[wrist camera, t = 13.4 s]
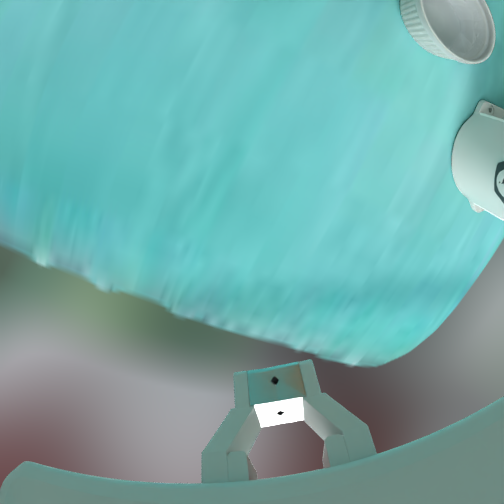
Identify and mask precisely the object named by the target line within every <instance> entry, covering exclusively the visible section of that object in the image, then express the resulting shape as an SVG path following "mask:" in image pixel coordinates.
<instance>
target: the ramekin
mask: <svg viewBox="0 0 504 504" xmlns="http://www.w3.org/2000/svg"><path fill="white" fill-rule="evenodd" d="M400 11H401V16H402V19H403V22H404V24H405V26H406V28H407V30H408V32H409V33H410V35H411V36H412V38H413V39H414V40H415V41H416V42H417V43H418V44H419V45H420V46H421V47H422V48H423V49H425V50H426V51H428V52H429V53H432V54H433V55H436V56H439V57H442V58H447V59H452V60H456V61H458V62H461V63H466V64H478V63H481V62H483V61H485V60H486V59H488V58H489V56H490V55H491V53H492V51H493V49H494V45H495V26H494V21H493V17H492V14H491V12H490V9H489V7H488V5H487V3H486V1H485V0H400Z"/></svg>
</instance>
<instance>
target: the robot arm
mask: <svg viewBox="0 0 504 504" xmlns="http://www.w3.org/2000/svg"><path fill="white" fill-rule="evenodd" d="M452 173H453V177H454V181H455V183H456V186H457V187H458V189H459V191H460V192H461V193H462V194H463V195H464V196H466V197H467V198H468V200H469V203H470V205H471V208H472V209H473V210H474V211H476V212H481V211H483V210H486V211H487V212H489V213H491V214H493V215H494V216H496V217H498V218H499V219H501V220H503V221H504V109H502V108H500V107H498V106H496V105H494V104H492V103H489V102H487V101H485V100H481V101H479V103H478V105H477V107H476V109H475V111H474V114H473V115H472V116H471V117H470V118H469V119H468V120H467V121H466V122H465V123H464V124H463V126H462V127H461V129H460V130H459V132H458V134H457V137H456V139H455V142H454V146H453V152H452ZM234 397H235V408H234V409H231V410H230V412H229V413H228V415H227V416H226V418H225V420H224V421H223V422H222V424H221V426H220V427H219V428H218V430H217V432H216V433H215V434H214V436H213V437H212V439H211V440H210V442H209V443H208V445H207V446H206V448H205V449H204V450H203V452H202V483H197V484H196V483H195V484H183V483H182V484H181V483H178V484H177V483H153V482H140V481H128V480H119V479H112V478H104V477H98V476H92V475H86V474H81V473H75V472H70V471H66V470H61V469H57V468H53V467H49V466H45V465H41V464H38V463H34V462H30V461H25V462H23V463H22V464H20V465H19V466H18V467H17V468H15V469H14V470H13V471H12V472H11V473H10V474H9V475H8V476H7V477H6V479H5V480H4V482H3V484H2V487H1V489H0V504H504V396H503V397H502V398H500V399H498V400H497V401H495V402H493V403H492V404H490V405H488V406H486V407H485V408H483V409H481V410H479V411H477V412H476V413H474V414H472V415H470V416H468V417H466V418H464V419H462V420H460V421H458V422H456V423H454V424H452V425H450V426H448V427H445V428H443V429H441V430H439V431H437V432H434V433H432V434H430V435H427V436H425V437H423V438H420V439H418V440H415V441H413V442H410V443H407V444H405V445H402V446H399V447H397V448H394V449H391V450H388V451H385V452H382V453H379V454H377V453H376V450H375V447H374V444H373V440H372V437H371V434H370V431H369V428H368V425H366V424H365V423H364V422H362V421H361V420H360V419H358V418H357V417H356V416H354V415H353V414H352V413H350V412H349V411H348V410H346V409H345V408H344V407H342V406H341V405H340V404H339V403H337V402H336V401H335V400H333V399H332V398H331V397H330V396H328V395H327V394H326V393H321V391H320V387H319V383H318V380H317V376H316V372H315V369H314V365H313V362H312V360H305V361H301V362H294V363H290V364H284V365H279V366H274V367H271V368H265V369H257V370H250V371H242V372H236V373H234ZM300 420H304V421H305V422H306V423H307V424H308V425H309V426H310V427H311V428H312V429H313V430H314V431H315V432H316V433H317V434H318V435H319V436H320V437H321V438H322V439H323V440H324V441H325V443H324V453H323V465H324V469H319V470H315V471H310V472H305V473H299V474H294V475H288V476H281V477H275V478H267V479H259V480H258V479H257V472H256V470H255V468H254V466H253V465H252V463H251V461H250V459H249V457H248V454H249V452H250V450H251V448H252V446H253V444H254V442H255V440H256V438H257V437H258V435H259V433H260V431H261V427H264V426H270V425H276V424H282V423H288V422H294V421H300Z"/></svg>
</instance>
